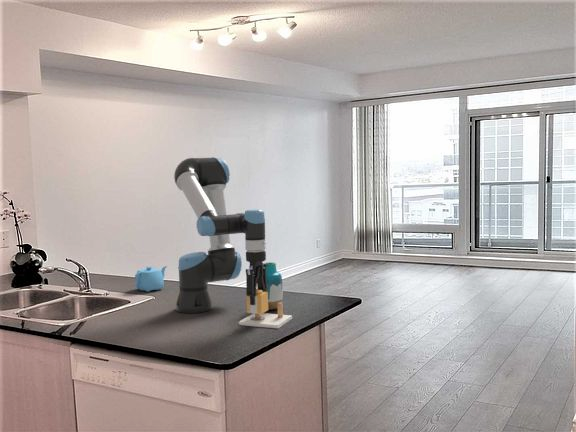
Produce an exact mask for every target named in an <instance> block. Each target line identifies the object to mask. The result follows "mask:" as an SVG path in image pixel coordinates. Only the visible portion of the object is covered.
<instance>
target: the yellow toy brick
mask: <svg viewBox="0 0 576 432" xmlns="http://www.w3.org/2000/svg"><path fill="white" fill-rule="evenodd" d="M256 296H257V310H258V313H256V314H262V313H266V312H267V311H269V310H268V292H262V290H257V289H256ZM246 311H247V312H246V313H248V314H251V313H250V296H247V295H246Z"/></svg>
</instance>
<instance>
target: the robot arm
mask: <svg viewBox="0 0 576 432" xmlns="http://www.w3.org/2000/svg"><path fill="white" fill-rule="evenodd" d="M230 175H231V174H230V169H229V165H228V163H227V161H225V159H223V158H222V157H188V158H185V159H184V160H182V161H181V162H179V164H178V165H177V166H176V168H175V171H174V176H173V179H174V183H175V185H176V187H177V188H178V189H179V190H180V191H182V192H183V194H184V196H185V197H186V200H187V201H188V203H189V205H190V206H191V208H192V210H193V213H194V214H195V216H196V217H197V219H196V231H197V233H198V234H199V236H201V237H208V238H209V244H210V247H209V249H208V250H207V253H206V252H205V251H197V252H191V253H186V254H183V255H182V256H180V257H179V259H178V268H177V269H178V278H179V279H178V284H179V285H178V286H179V294H178V296H177V300H176V303H175V310H176V312H178V313H182V314H197V313H205V312H208V311H211V310H213V301H212V298H211V295H210V292H209V289H208V286H209V285H208V283H215V282H223V281H230V280H234V279H237V278H238V276H240V274H241V271H242V266H243V265H242V256H241V254H240V253H239V252H238V251H236V249H235V247H234V245H232V244H231V237H230V235H233V234H234V235H236V234H245V236H244V237H245V240H244V241H245V243H244V244H245V250H246V252H245V261H246V262H247V263H249V266H248V268H246V269H245V276H246V277H245V278H246V291H245V292H246V293H245V294H246V297H247V296H250V313H249V314H253V313H258V310H257V296H256V290H257V286H258V290H262V292H267V278H266V264H263V262H265V261H266V260H267V255H266V254H267V252H266V244H267V242H266V219H265V211H264V210H263V209H246V210H245V211H244V212H240V213H235V214H227V210H226V200H225V194H224V190H225V189H226V188H227V184H228V183H229V181H230Z"/></svg>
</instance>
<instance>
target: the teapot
mask: <svg viewBox="0 0 576 432" xmlns="http://www.w3.org/2000/svg"><path fill="white" fill-rule="evenodd" d="M167 267H168V265H164V266H162V268H161V269H158V268H154V267H152V266H146V267H145V268H144V269H138V270H137V271H136V273H135V275H134V279H135V288H136V289H138V290H140V291H143V292H144V291H145V293H148V292H151V291H154V290H155V291H159V290H161V289H164V285H165V282H164V281H165V280H164V279H165V273H166V272H165V271H166V268H167Z"/></svg>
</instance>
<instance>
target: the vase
mask: <svg viewBox="0 0 576 432" xmlns="http://www.w3.org/2000/svg"><path fill="white" fill-rule="evenodd" d="M263 264H266V278H267V292H268V310H267V311H269V310H276V309H277V310H278V307H277V303H279V302H282V303H283V299H284V296H283V295H284V294H283V293H284V290H283V289H284V285H283V284H284V283H283V277H282V274H281V273H280V272H279V271H278V270H277V263H276V262H270V261H269V262H264V263H263ZM256 290H258V286H257V288H256Z"/></svg>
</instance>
